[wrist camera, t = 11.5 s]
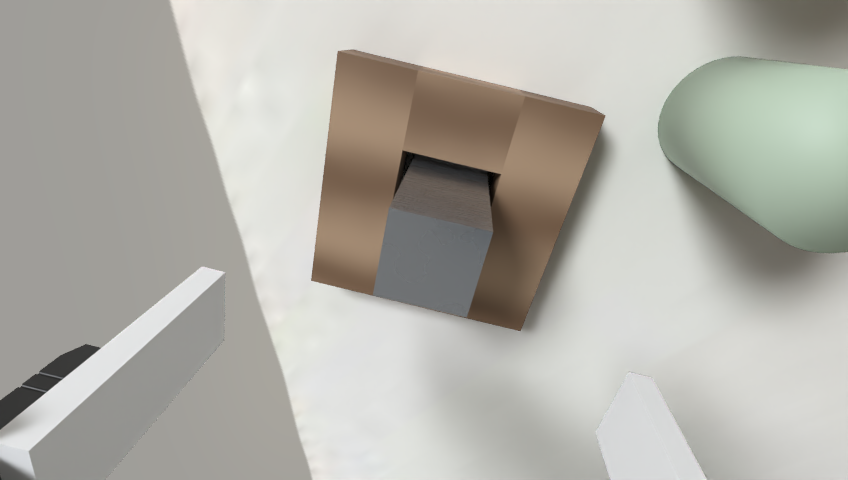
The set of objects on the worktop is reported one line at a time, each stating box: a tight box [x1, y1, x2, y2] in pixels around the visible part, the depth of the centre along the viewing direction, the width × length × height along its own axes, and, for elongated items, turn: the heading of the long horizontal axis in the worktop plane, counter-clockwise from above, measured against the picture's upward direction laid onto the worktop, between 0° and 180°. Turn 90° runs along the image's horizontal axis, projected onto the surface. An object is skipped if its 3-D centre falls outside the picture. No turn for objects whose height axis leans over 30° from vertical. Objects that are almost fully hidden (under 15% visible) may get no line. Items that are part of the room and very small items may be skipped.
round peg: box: [658, 57, 848, 253], centre depth 20 cm, size 6×6×10 cm
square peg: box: [373, 154, 493, 317], centre depth 23 cm, size 4×4×10 cm
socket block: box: [311, 50, 605, 331], centre depth 26 cm, size 14×14×3 cm
